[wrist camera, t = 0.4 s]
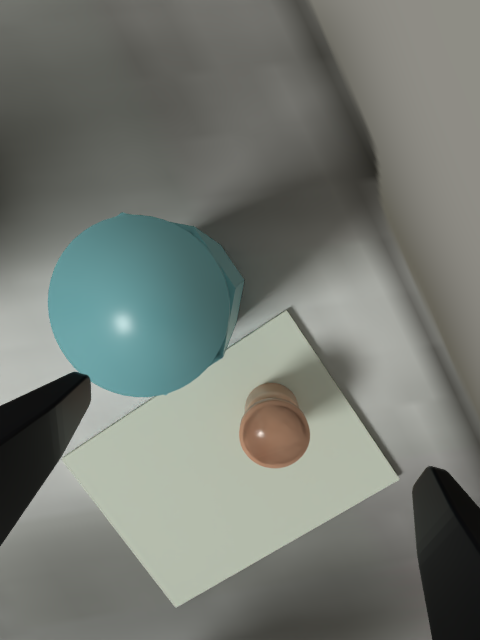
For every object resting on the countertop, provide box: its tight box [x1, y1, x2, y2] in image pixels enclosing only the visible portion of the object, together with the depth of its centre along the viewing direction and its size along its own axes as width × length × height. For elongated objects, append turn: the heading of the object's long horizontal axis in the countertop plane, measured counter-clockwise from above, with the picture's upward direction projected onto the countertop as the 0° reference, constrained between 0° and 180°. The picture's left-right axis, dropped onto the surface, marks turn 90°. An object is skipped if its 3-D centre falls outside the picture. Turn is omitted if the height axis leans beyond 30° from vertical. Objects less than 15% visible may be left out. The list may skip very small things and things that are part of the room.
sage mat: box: [61, 310, 400, 608], centre depth 25 cm, size 19×14×1 cm
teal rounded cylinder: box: [48, 212, 245, 397], centre depth 18 cm, size 7×7×11 cm
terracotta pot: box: [239, 383, 310, 468], centre depth 22 cm, size 4×4×4 cm
